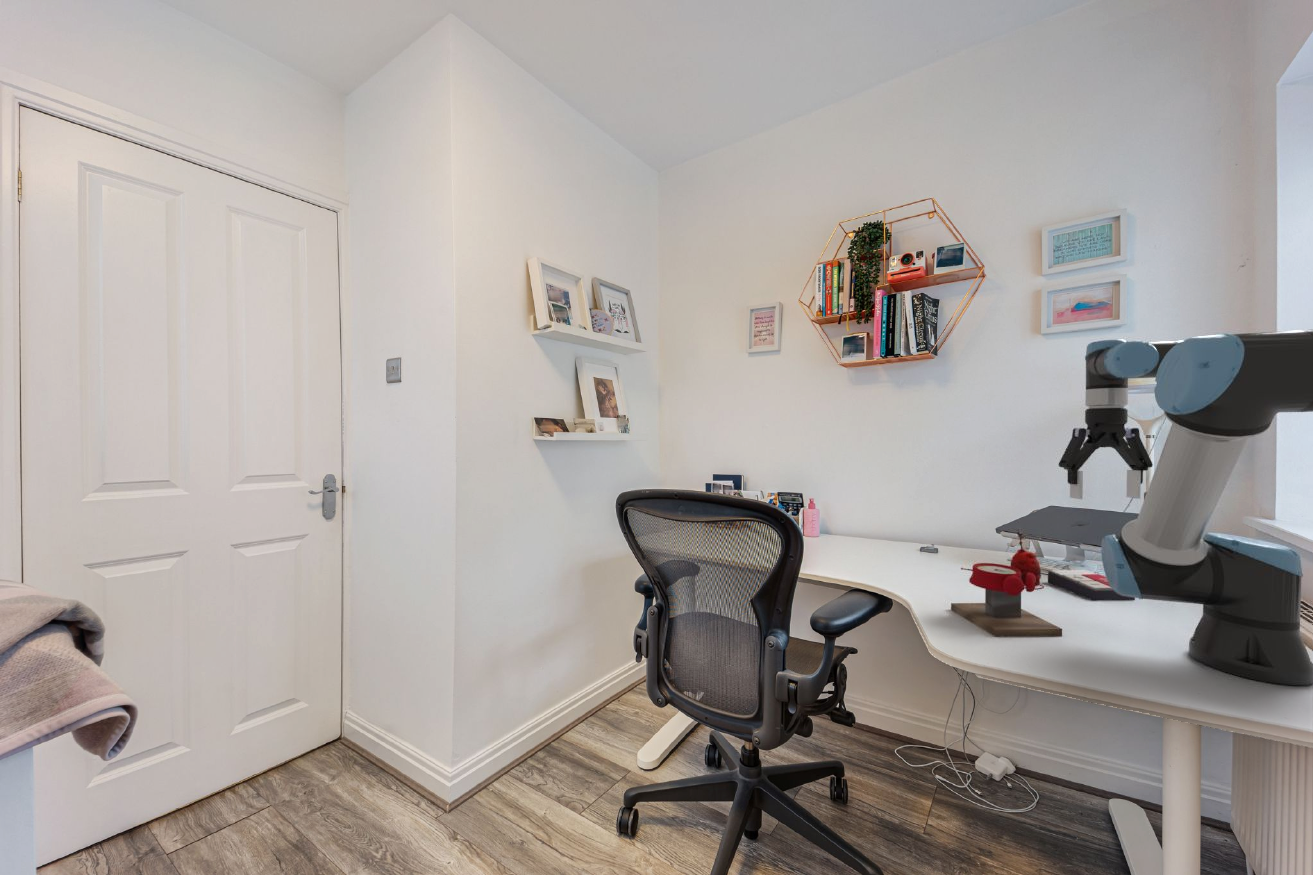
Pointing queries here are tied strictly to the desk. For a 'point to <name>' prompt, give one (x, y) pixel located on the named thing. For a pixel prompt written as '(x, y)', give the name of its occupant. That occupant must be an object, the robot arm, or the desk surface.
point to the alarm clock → (1001, 578)
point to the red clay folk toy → (1026, 562)
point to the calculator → (1085, 584)
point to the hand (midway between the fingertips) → (1104, 498)
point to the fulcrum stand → (1005, 616)
